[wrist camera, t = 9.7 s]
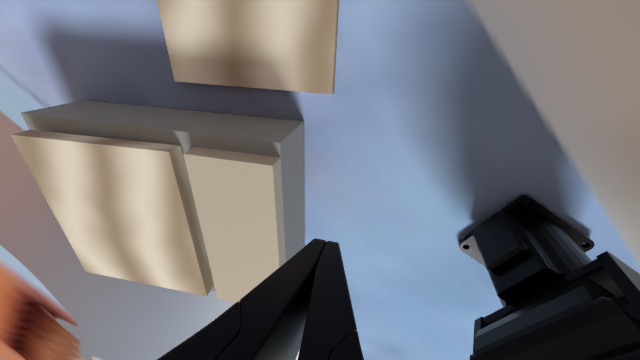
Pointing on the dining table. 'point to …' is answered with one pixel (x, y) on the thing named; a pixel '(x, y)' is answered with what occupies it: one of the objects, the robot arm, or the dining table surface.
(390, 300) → the dining table surface
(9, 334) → the dining table surface
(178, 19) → the plank
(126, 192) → the board
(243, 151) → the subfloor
